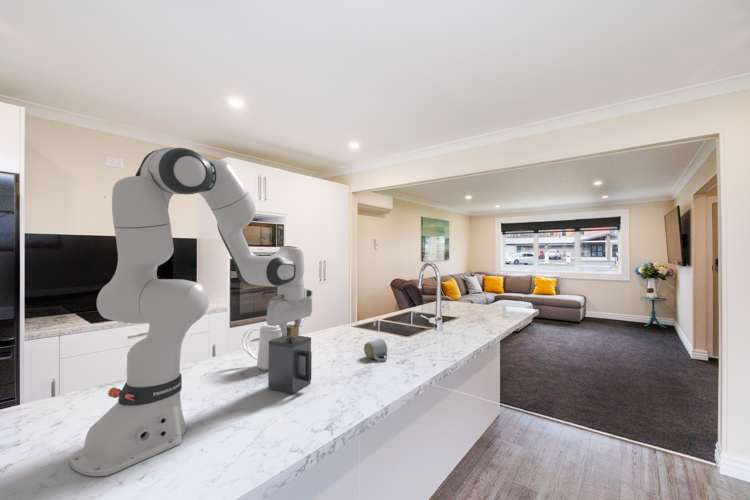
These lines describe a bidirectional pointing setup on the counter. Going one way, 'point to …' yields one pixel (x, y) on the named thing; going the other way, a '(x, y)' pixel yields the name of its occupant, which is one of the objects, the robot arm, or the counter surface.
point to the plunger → (292, 331)
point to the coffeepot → (264, 343)
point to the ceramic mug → (376, 349)
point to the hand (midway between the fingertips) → (290, 333)
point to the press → (289, 364)
